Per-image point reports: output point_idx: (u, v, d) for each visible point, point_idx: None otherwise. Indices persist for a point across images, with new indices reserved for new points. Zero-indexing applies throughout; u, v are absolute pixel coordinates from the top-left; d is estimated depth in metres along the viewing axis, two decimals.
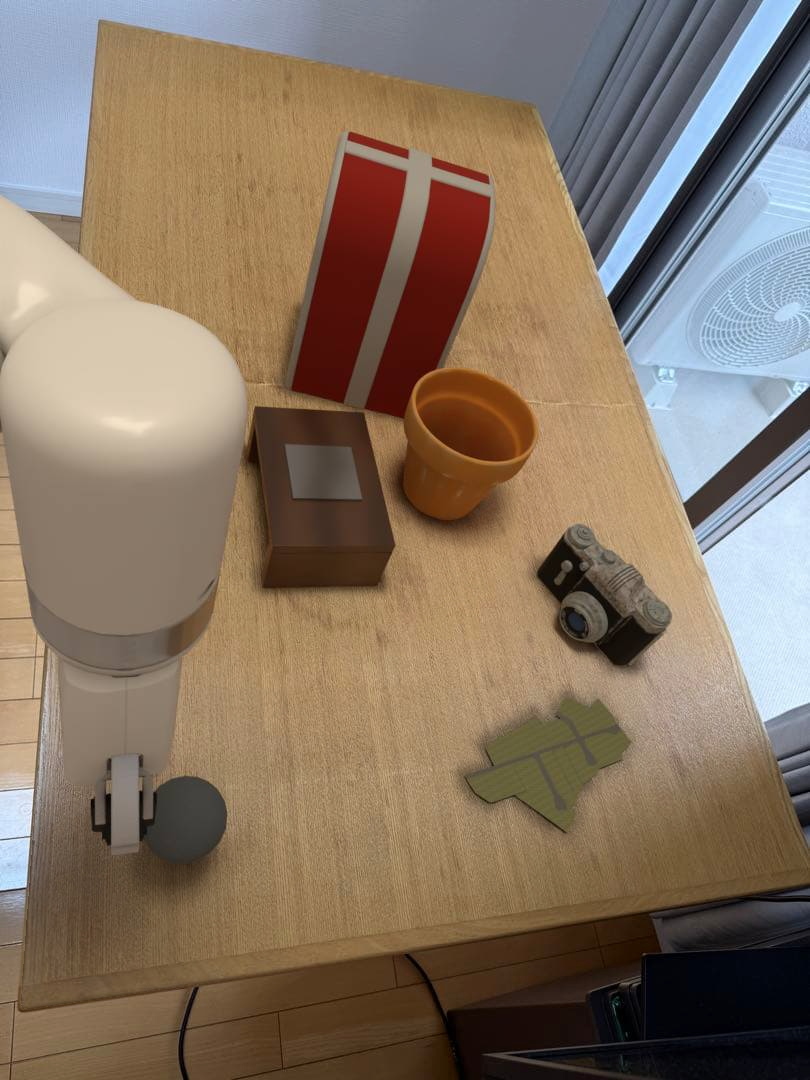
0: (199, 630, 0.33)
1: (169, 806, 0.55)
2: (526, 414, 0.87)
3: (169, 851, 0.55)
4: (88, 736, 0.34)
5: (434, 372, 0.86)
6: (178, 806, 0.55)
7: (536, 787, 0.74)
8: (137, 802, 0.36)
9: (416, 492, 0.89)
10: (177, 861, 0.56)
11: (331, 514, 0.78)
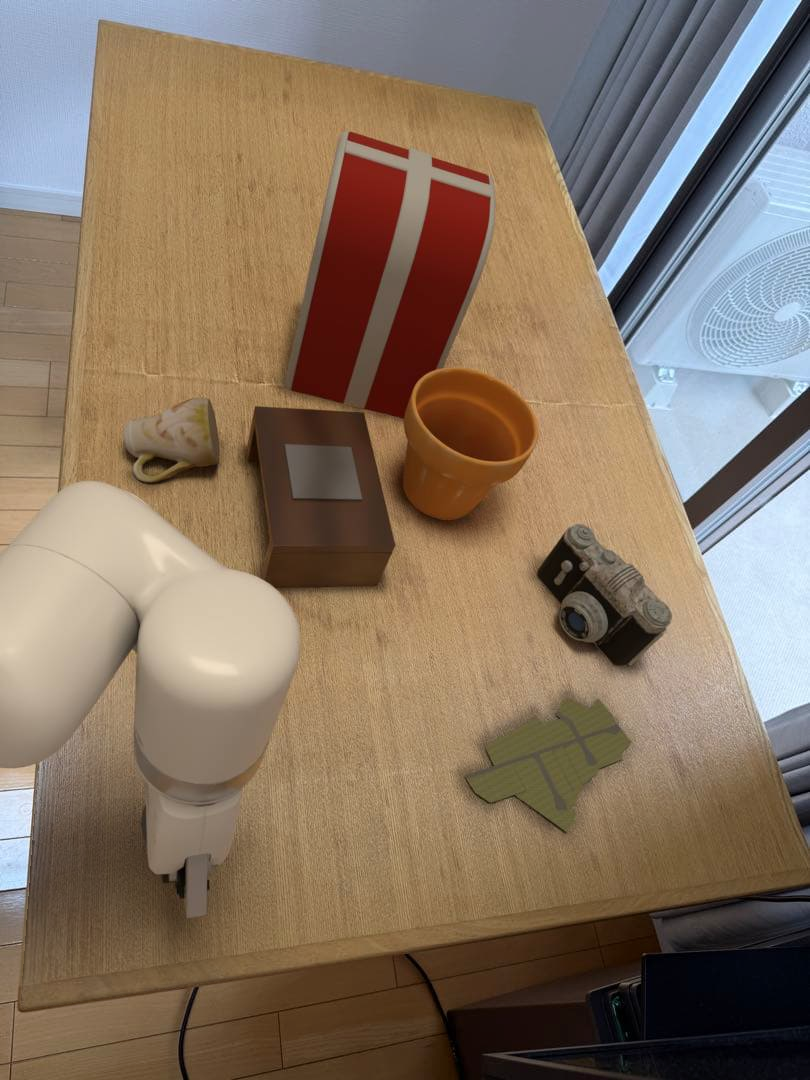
0: (257, 768, 0.46)
1: None
2: (526, 414, 0.87)
3: None
4: (174, 845, 0.46)
5: (434, 372, 0.86)
6: None
7: (536, 787, 0.74)
8: (205, 885, 0.49)
9: (416, 492, 0.89)
10: None
11: (331, 514, 0.78)
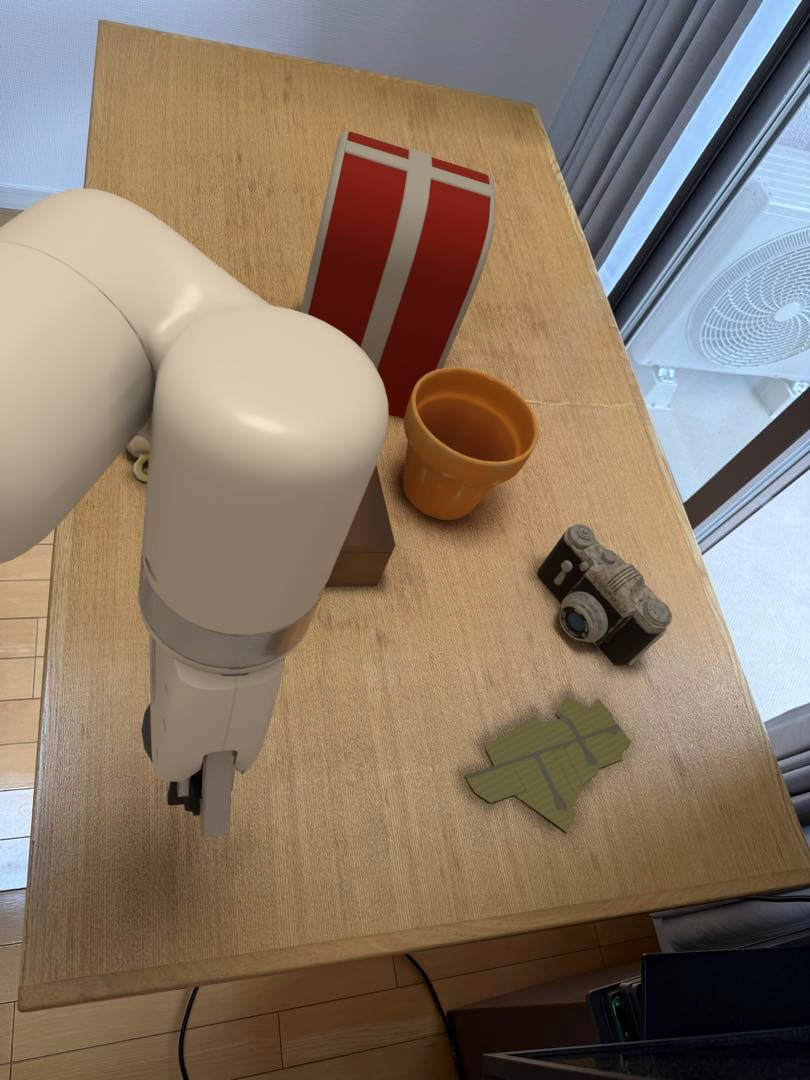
0: (304, 630, 0.34)
1: None
2: (526, 414, 0.87)
3: None
4: (191, 733, 0.34)
5: (434, 372, 0.86)
6: None
7: (536, 787, 0.74)
8: (229, 795, 0.37)
9: (416, 492, 0.89)
10: None
11: None
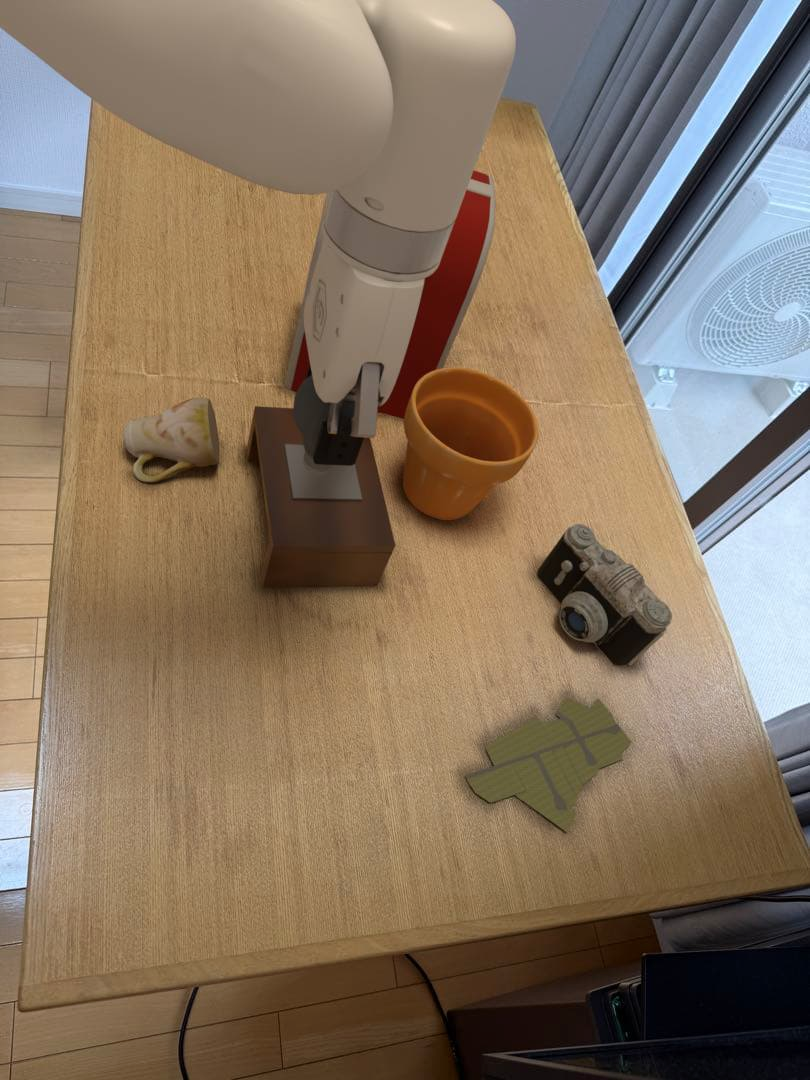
0: (439, 257, 0.48)
1: None
2: (526, 414, 0.87)
3: (325, 420, 0.57)
4: (358, 334, 0.48)
5: (434, 372, 0.86)
6: None
7: (536, 787, 0.74)
8: (376, 403, 0.51)
9: (416, 492, 0.89)
10: None
11: (331, 514, 0.78)
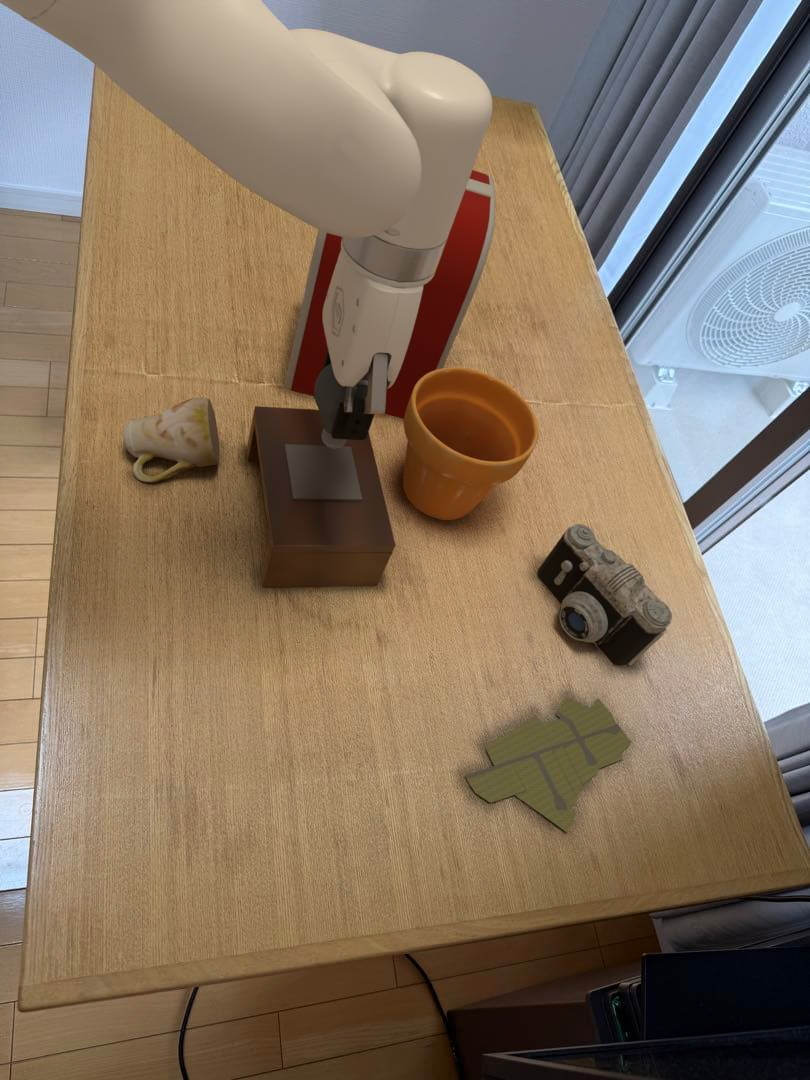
0: (434, 268, 0.60)
1: None
2: (526, 414, 0.87)
3: (342, 401, 0.69)
4: (371, 330, 0.60)
5: (434, 372, 0.86)
6: None
7: (536, 787, 0.74)
8: (385, 386, 0.64)
9: (416, 492, 0.89)
10: None
11: (331, 514, 0.78)
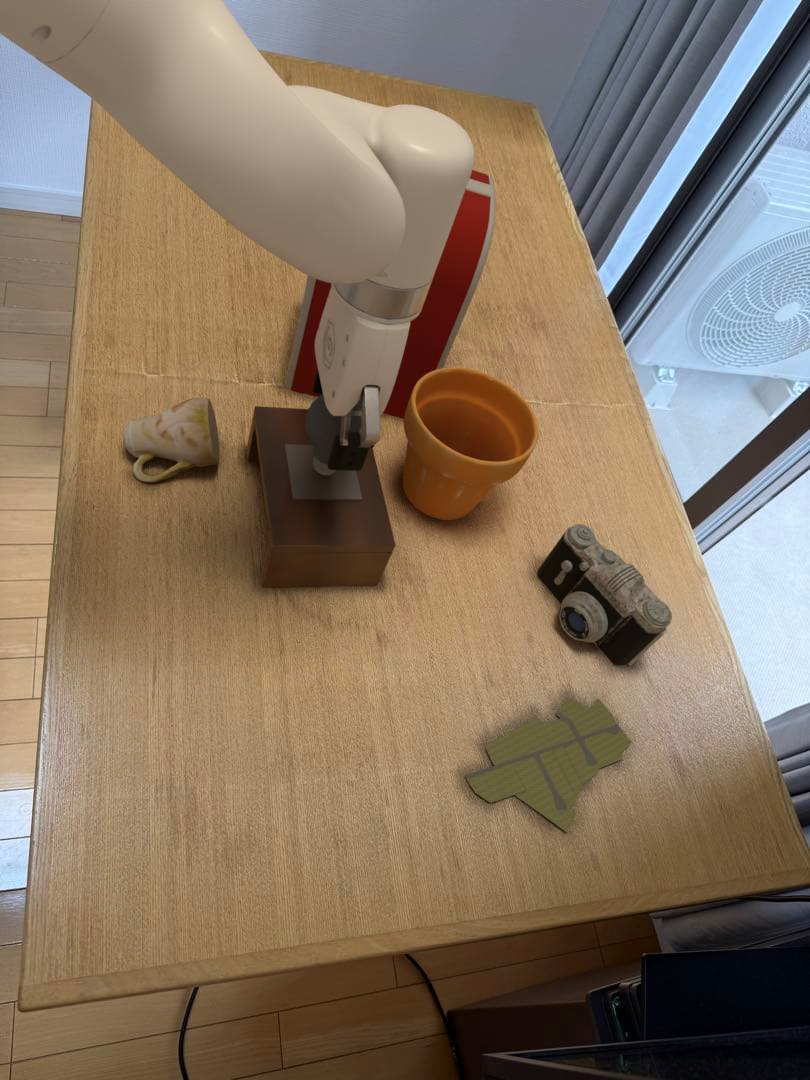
0: (421, 305, 0.63)
1: None
2: (526, 414, 0.87)
3: (332, 432, 0.72)
4: (360, 364, 0.63)
5: (434, 372, 0.86)
6: None
7: (536, 787, 0.74)
8: (378, 412, 0.65)
9: (416, 492, 0.89)
10: None
11: (331, 514, 0.78)
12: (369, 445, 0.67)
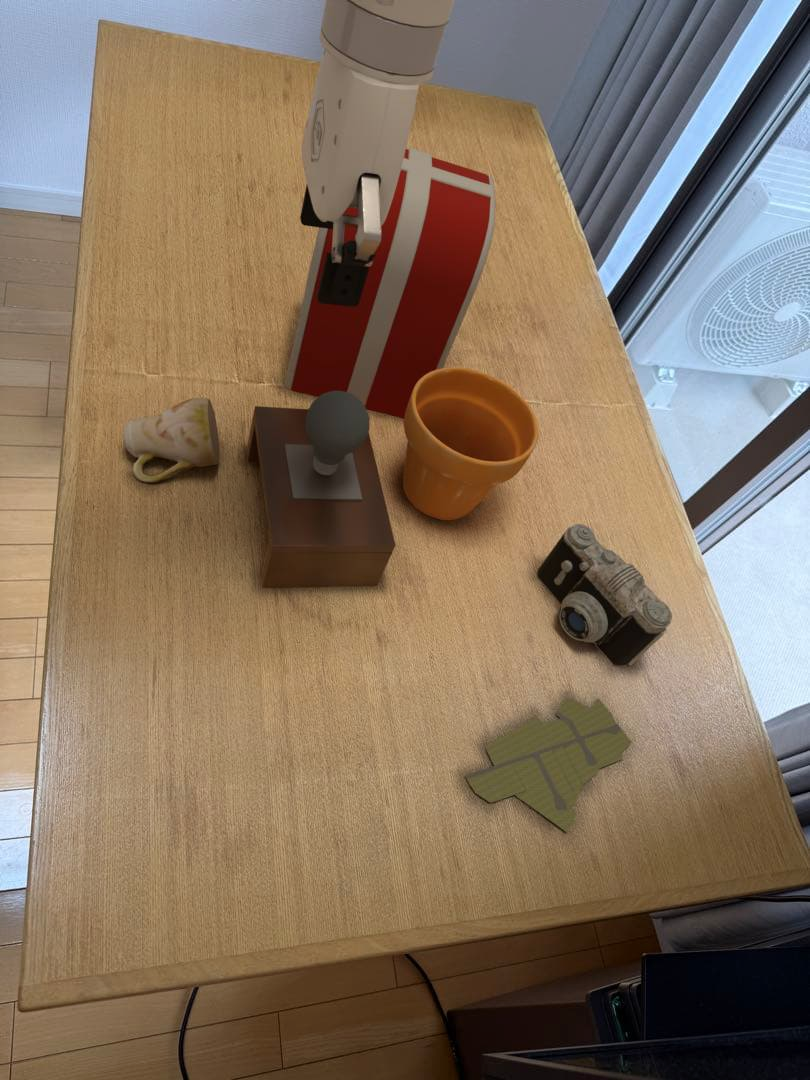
0: (433, 63, 0.50)
1: (331, 400, 0.73)
2: (526, 414, 0.87)
3: (332, 432, 0.72)
4: (356, 139, 0.50)
5: (434, 372, 0.86)
6: (338, 400, 0.73)
7: (536, 787, 0.74)
8: (379, 208, 0.52)
9: (416, 492, 0.89)
10: (336, 445, 0.73)
11: (331, 514, 0.78)
12: (367, 255, 0.54)
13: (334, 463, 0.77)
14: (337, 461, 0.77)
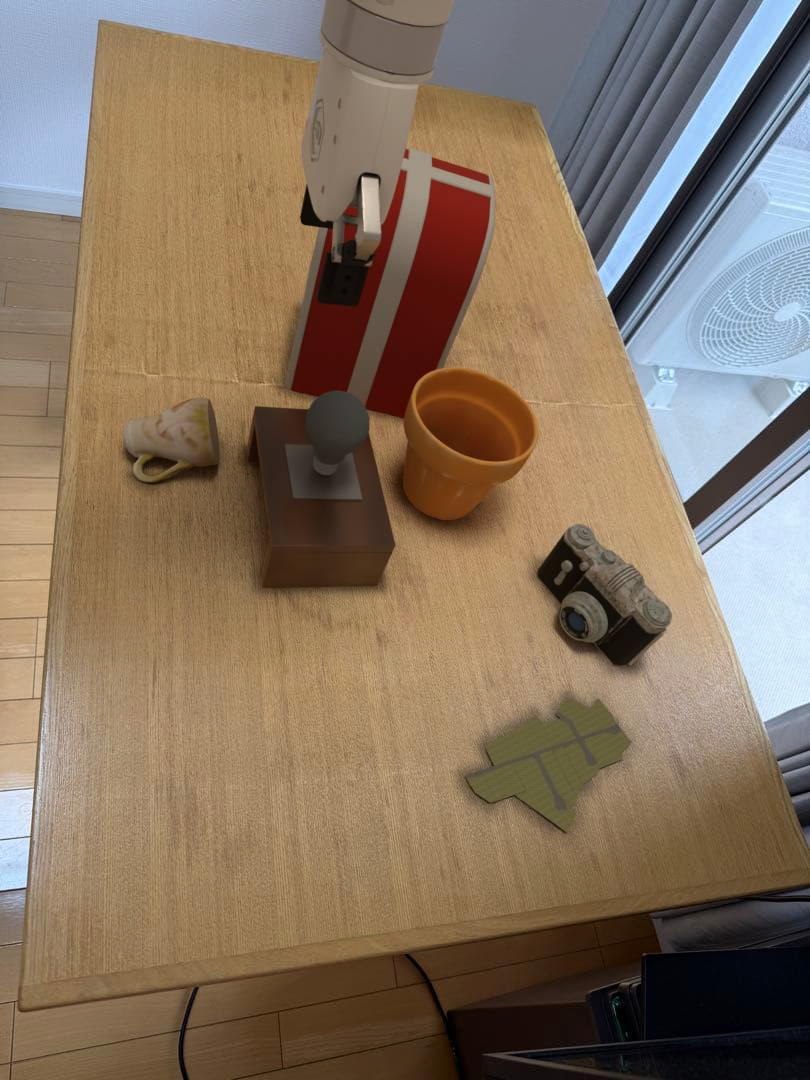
0: (432, 62, 0.50)
1: (331, 400, 0.73)
2: (526, 414, 0.87)
3: (332, 432, 0.72)
4: (355, 139, 0.50)
5: (434, 372, 0.86)
6: (338, 400, 0.73)
7: (536, 787, 0.74)
8: (378, 208, 0.52)
9: (416, 492, 0.89)
10: (336, 445, 0.73)
11: (331, 514, 0.78)
12: (367, 254, 0.54)
13: (334, 463, 0.77)
14: (337, 461, 0.77)
